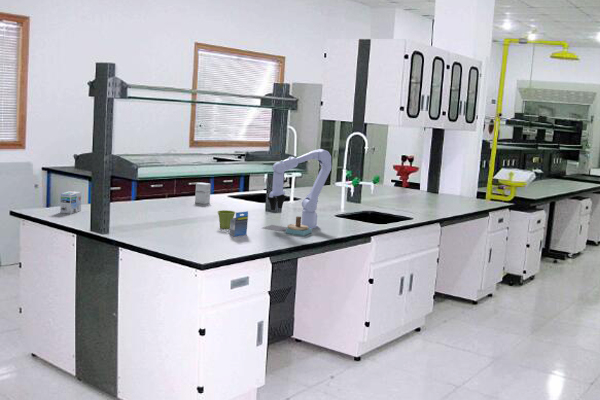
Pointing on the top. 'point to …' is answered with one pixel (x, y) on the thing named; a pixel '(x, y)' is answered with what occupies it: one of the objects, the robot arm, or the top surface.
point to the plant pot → (225, 218)
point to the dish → (299, 232)
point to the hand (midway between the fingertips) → (276, 209)
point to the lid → (297, 225)
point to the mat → (275, 228)
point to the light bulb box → (70, 202)
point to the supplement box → (202, 193)
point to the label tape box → (239, 224)
